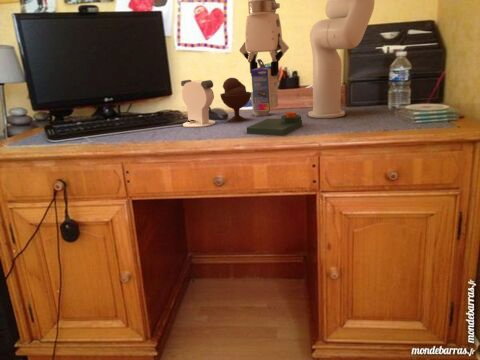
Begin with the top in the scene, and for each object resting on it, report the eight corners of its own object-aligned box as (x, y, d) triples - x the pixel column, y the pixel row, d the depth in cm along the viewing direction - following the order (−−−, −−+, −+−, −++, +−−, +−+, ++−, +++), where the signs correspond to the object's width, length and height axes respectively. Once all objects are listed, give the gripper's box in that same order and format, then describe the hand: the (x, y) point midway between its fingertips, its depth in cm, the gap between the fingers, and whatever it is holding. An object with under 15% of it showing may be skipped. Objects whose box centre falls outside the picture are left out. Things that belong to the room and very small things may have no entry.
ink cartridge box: (261, 106, 123) (260, 58, 118) (278, 106, 121) (277, 58, 116) (252, 112, 114) (250, 60, 109) (270, 112, 112) (269, 59, 107)
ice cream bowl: (249, 122, 133) (247, 77, 128) (218, 123, 135) (215, 79, 130) (254, 117, 143) (252, 75, 138) (225, 117, 145) (222, 76, 140)
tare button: (288, 116, 123) (288, 111, 123) (297, 116, 122) (297, 111, 121) (284, 118, 121) (284, 113, 120) (293, 118, 119) (293, 113, 119)
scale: (268, 124, 129) (267, 113, 128) (303, 125, 123) (303, 114, 122) (246, 133, 117) (246, 122, 116) (285, 136, 111) (284, 124, 110)
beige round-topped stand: (223, 122, 137) (220, 78, 132) (202, 128, 129) (197, 82, 124) (197, 120, 144) (194, 78, 139) (176, 126, 136) (171, 82, 131)
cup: (251, 113, 150) (250, 91, 147) (277, 112, 150) (276, 89, 147) (251, 117, 143) (250, 93, 140) (278, 115, 142) (277, 92, 140)
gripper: (295, 7, 107) (296, 74, 113) (241, 12, 116) (245, 75, 121) (285, 5, 101) (286, 76, 107) (228, 11, 109) (232, 77, 115)
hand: (264, 75), depth 114 cm, fingers closed on ink cartridge box, 5 cm apart
